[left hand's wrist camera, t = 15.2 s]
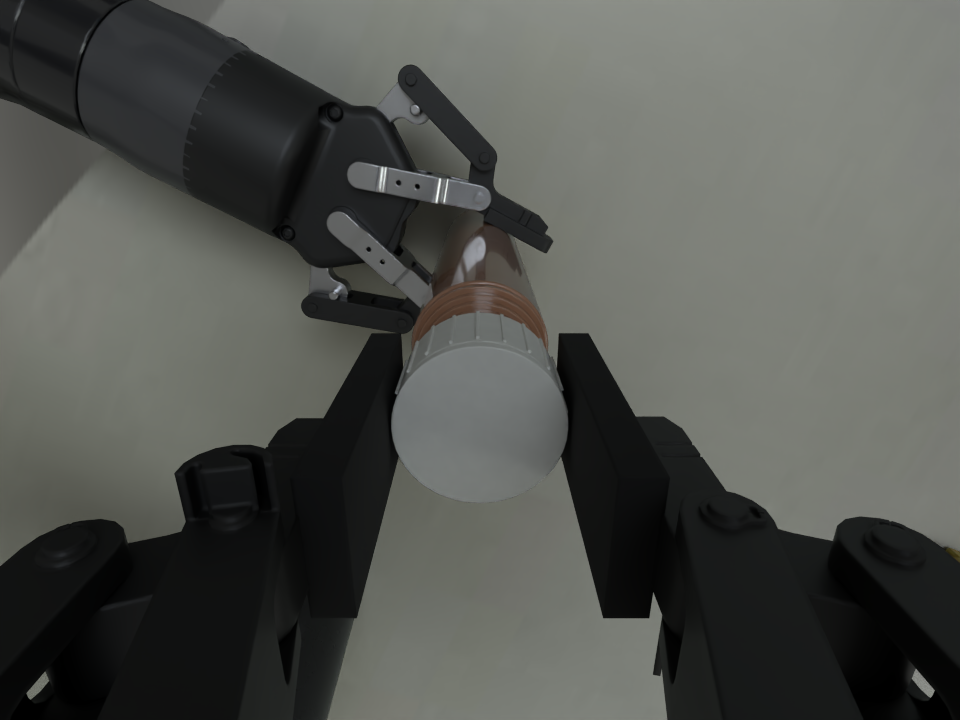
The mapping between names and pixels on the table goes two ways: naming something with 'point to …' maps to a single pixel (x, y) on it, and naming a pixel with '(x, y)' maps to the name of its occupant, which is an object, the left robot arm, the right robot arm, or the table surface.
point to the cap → (479, 409)
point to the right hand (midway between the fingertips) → (524, 283)
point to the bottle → (479, 279)
